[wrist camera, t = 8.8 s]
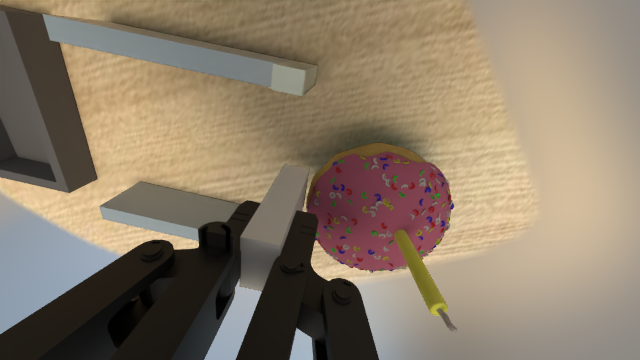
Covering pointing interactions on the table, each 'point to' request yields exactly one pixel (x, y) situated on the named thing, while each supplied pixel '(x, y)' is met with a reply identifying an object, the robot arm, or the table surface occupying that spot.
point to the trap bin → (38, 109)
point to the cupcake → (383, 213)
